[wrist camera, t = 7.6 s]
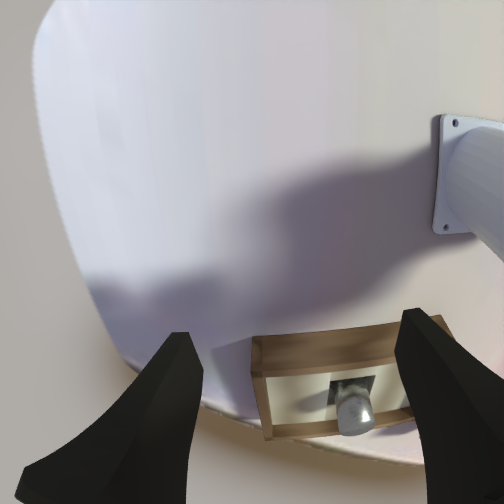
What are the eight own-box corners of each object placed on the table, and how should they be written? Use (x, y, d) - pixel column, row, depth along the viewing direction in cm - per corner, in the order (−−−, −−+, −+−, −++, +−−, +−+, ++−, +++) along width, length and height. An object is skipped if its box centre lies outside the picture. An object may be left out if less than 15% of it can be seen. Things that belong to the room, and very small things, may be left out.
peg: (350, 358, 24) (364, 415, 19) (368, 371, 25) (381, 424, 20) (324, 374, 25) (332, 431, 20) (342, 386, 26) (351, 438, 21)
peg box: (440, 314, 22) (457, 343, 19) (409, 394, 27) (417, 419, 24) (252, 336, 23) (250, 371, 20) (265, 412, 29) (265, 440, 26)
